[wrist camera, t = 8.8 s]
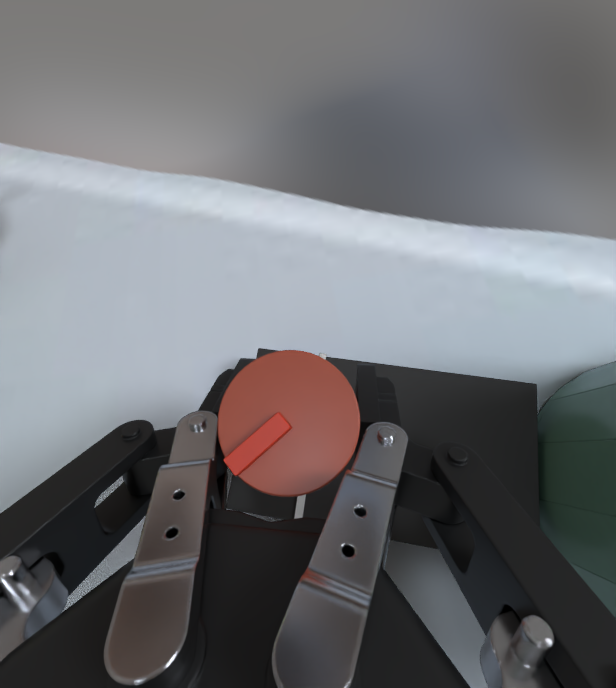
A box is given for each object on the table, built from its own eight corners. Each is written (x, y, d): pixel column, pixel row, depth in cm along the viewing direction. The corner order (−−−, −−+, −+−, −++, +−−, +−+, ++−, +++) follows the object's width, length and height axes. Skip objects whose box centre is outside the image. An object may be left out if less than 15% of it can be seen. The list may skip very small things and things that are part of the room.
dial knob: (315, 377, 18) (294, 319, 10) (369, 438, 17) (393, 425, 9) (254, 430, 18) (184, 411, 10) (306, 496, 17) (275, 535, 9)
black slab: (517, 388, 19) (538, 381, 17) (519, 558, 17) (543, 573, 15) (256, 354, 21) (247, 343, 19) (225, 503, 19) (211, 508, 17)
